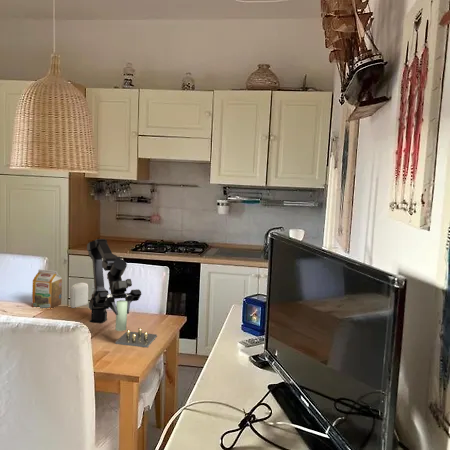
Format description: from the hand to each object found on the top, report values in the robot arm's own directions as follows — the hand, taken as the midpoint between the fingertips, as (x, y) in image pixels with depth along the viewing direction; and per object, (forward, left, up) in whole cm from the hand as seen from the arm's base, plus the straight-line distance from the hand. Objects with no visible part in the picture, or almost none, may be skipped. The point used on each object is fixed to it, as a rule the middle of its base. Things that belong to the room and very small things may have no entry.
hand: (122, 314), depth 200 cm
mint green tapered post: (-1, +1, -7) cm, 7 cm away
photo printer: (-42, +48, -14) cm, 65 cm away
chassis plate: (+4, +7, -13) cm, 16 cm away
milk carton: (-57, +42, -14) cm, 72 cm away
